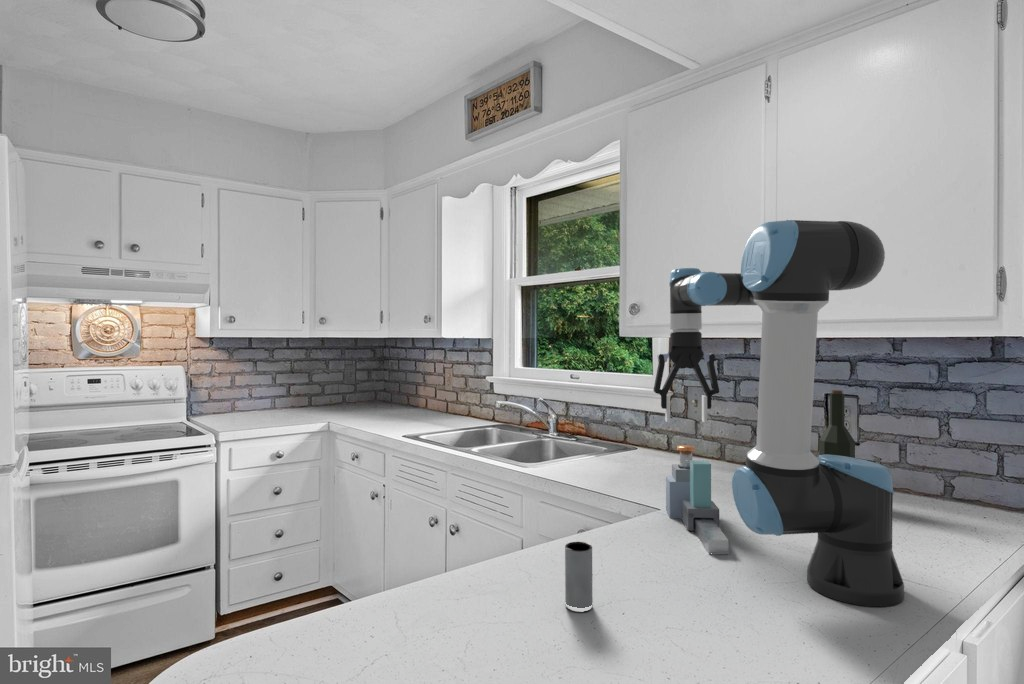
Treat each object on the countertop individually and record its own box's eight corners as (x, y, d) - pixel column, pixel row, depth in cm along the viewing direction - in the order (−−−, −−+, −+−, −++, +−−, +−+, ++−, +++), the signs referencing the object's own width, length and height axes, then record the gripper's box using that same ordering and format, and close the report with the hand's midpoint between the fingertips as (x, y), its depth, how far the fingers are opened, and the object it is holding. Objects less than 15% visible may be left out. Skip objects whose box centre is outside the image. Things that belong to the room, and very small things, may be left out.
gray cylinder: (575, 598, 106) (574, 539, 106) (597, 605, 103) (597, 545, 103) (560, 607, 102) (559, 547, 102) (583, 615, 99) (582, 553, 99)
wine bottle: (818, 505, 160) (819, 391, 159) (819, 497, 167) (819, 388, 167) (855, 509, 156) (855, 392, 156) (854, 501, 163) (854, 389, 163)
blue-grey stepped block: (707, 518, 149) (707, 470, 149) (669, 518, 150) (669, 469, 150) (702, 511, 155) (701, 464, 155) (666, 510, 156) (665, 464, 156)
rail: (728, 554, 126) (728, 540, 125) (708, 554, 126) (708, 539, 126) (704, 519, 148) (704, 507, 148) (687, 519, 149) (687, 507, 149)
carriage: (719, 531, 139) (719, 465, 139) (688, 530, 140) (687, 465, 140) (712, 521, 146) (712, 459, 146) (682, 520, 147) (682, 458, 147)
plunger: (696, 480, 150) (696, 448, 150) (678, 479, 151) (678, 448, 150) (693, 475, 155) (693, 445, 154) (675, 475, 155) (675, 444, 155)
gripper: (725, 330, 154) (725, 419, 155) (641, 331, 156) (641, 419, 157) (733, 330, 147) (733, 424, 148) (644, 331, 149) (644, 423, 150)
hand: (686, 421), depth 152 cm, fingers open, 8 cm apart
